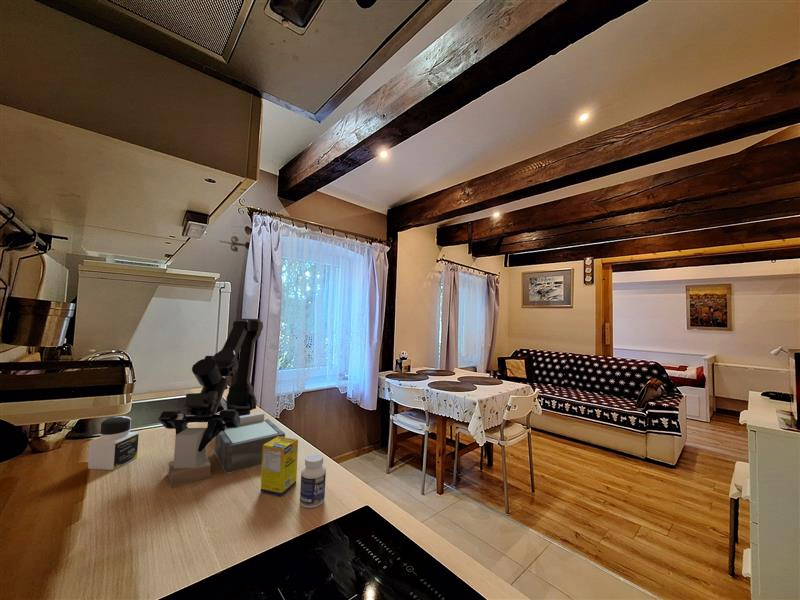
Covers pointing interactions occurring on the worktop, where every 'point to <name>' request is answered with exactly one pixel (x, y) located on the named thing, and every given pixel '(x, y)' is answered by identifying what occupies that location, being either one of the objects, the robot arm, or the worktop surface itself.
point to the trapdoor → (249, 428)
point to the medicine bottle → (113, 445)
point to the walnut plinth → (189, 473)
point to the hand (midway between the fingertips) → (187, 451)
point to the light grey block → (189, 448)
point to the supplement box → (279, 465)
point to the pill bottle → (313, 481)
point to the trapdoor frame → (242, 450)
